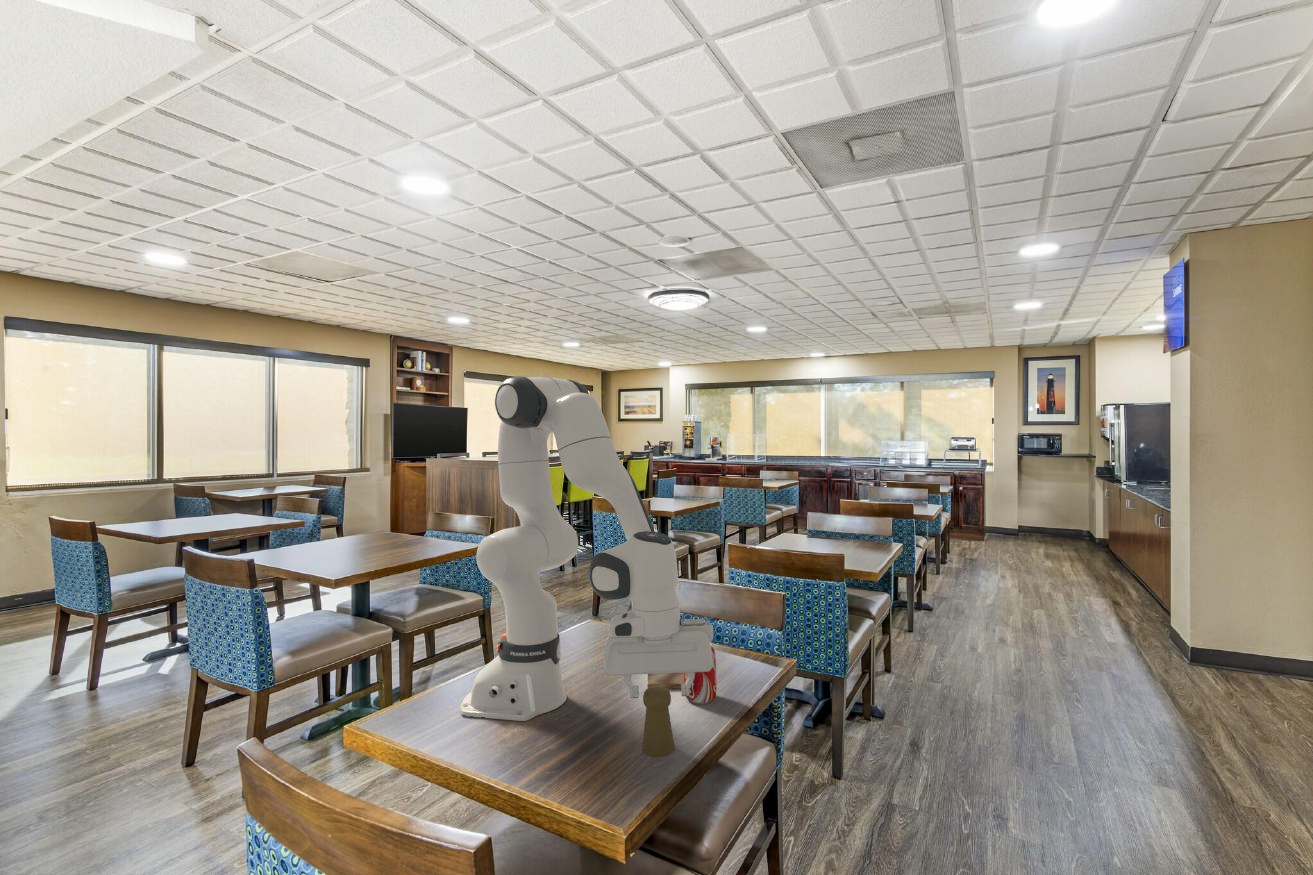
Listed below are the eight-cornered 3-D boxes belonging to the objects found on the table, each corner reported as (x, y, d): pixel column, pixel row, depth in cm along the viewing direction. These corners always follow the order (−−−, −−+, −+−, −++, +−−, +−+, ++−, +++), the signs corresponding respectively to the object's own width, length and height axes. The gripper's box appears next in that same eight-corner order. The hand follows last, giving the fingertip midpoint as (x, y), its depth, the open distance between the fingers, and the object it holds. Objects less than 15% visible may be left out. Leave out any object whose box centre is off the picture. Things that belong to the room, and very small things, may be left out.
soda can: (715, 707, 123) (713, 650, 123) (682, 705, 124) (680, 649, 124) (718, 692, 130) (717, 639, 130) (687, 690, 131) (685, 637, 131)
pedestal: (647, 688, 133) (647, 673, 133) (649, 666, 146) (649, 652, 146) (700, 687, 133) (700, 672, 133) (698, 665, 145) (697, 651, 145)
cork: (635, 748, 107) (633, 689, 107) (658, 736, 111) (656, 679, 111) (658, 760, 103) (656, 699, 103) (681, 747, 107) (679, 688, 107)
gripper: (711, 613, 110) (715, 686, 110) (604, 617, 110) (607, 690, 110) (713, 623, 104) (717, 701, 103) (600, 628, 104) (603, 705, 104)
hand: (660, 695), depth 107 cm, fingers open, 8 cm apart
